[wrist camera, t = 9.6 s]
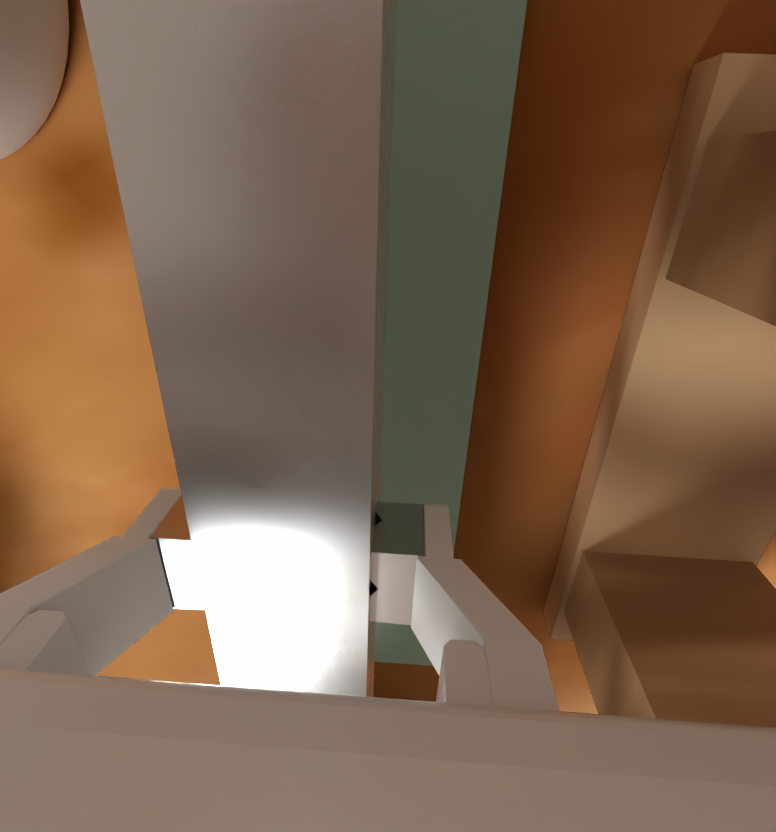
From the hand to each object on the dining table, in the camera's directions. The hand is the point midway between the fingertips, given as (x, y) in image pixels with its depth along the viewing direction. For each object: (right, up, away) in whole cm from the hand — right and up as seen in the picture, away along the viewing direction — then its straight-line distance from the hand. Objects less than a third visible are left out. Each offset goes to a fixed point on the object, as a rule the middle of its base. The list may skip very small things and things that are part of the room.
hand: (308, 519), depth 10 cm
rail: (0, 0, +1) cm, 1 cm away
